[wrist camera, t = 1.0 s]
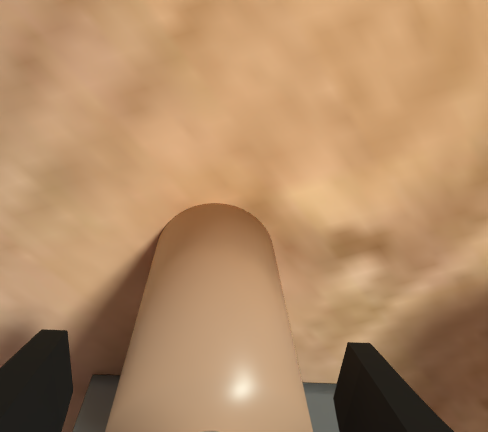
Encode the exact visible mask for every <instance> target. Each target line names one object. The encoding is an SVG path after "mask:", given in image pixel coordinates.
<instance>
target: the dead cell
mask: <svg viewBox="0 0 488 432" xmlns="http://www.w3.org/2000/svg"><path fill="white" fill-rule="evenodd" d="M105 432H313V429H312V424H311V420H310V415H309V410H308V406H307V401H306V397H305V392H304V387H303V383H302V378H301V374H300V369H299V364H298V360H297V355H296V350H295V346H294V341H293V337H292V332H291V327H290V323H289V318H288V314H287V309H286V304H285V300H284V295H283V291H282V286H281V281H280V277H279V272H278V268H277V263H276V258H275V254H274V249H273V245H272V241H271V238H270V236H269V233H268V232H267V230H266V228H265V227H264V226H263V225H262V223H261V222H260V221H259V220H258V219H257V218H256V217H254V216H253V215H251V214H250V213H248V212H247V211H245V210H243V209H240V208H238V207H235V206H231V205H227V204H220V203H211V204H202V205H198V206H194V207H192V208H189V209H187V210H185V211H183V212H181V213H180V214H178V215H177V216H175V217H174V218H173V219H172V220H171V221H170V222H169V223H168V224H167V225H166V226H165V228H164V229H163V231H162V233H161V235H160V237H159V240H158V243H157V246H156V250H155V254H154V257H153V261H152V264H151V268H150V272H149V275H148V279H147V282H146V286H145V290H144V293H143V297H142V300H141V304H140V308H139V311H138V315H137V318H136V322H135V326H134V329H133V333H132V336H131V340H130V344H129V347H128V351H127V354H126V358H125V362H124V365H123V369H122V372H121V376H120V380H119V383H118V387H117V390H116V394H115V398H114V401H113V405H112V408H111V412H110V416H109V419H108V423H107V426H106V430H105Z"/></svg>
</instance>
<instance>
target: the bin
mask: <svg viewBox="0 0 488 432" xmlns="http://www.w3.org/2000/svg"><path fill="white" fill-rule="evenodd" d="M119 380H120V376H111V375H93V376H92V378H91V381H90V384H89V387H88V390H87V392H86V395H85V398H84V401H83V404H82V406H81V409H80V412H79V415H78V418H77V421H76V423H75V426H74V429H73V432H105V430H106V426H107V423H108V419H109V416H110V412H111V408H112V405H113V401H114V398H115V394H116V390H117V387H118V383H119ZM336 385H337V384H325V383H303V387H304V392H305V397H306V401H307V406H308V410H309V415H310V420H311V424H312V429H313V432H339V427H338V422H337V417H336V411H335V406H334V400H333V397H334V393H335V389H336Z"/></svg>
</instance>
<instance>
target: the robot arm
mask: <svg viewBox="0 0 488 432" xmlns="http://www.w3.org/2000/svg"><path fill="white" fill-rule="evenodd" d="M72 393H73V384H72V373H71V363H70V353H69V343H68V332H67V331H66V330H41V331H40V332H38V333H37V334H36V335H35V336H34V337H33V338H32V339H31V340H30V341H29V342H28V343H27V344H26V345H24V346H23V347H22V348H21V349H20V350H19V351H18V352H17V353H16V354H15V355H14V356H13V357H12V358H11V359H10V360H8V361H7V362H6V363H5V364H4V365H3V366H2V367H1V368H0V432H61V431H62V427H63V424H64V421H65V417H66V414H67V411H68V407H69V404H70V400H71V396H72ZM333 400H334V406H335V411H336V417H337V422H338V427H339V432H454V431H453V430H452V429H451V428H450V427H449V426H447V425H446V424H445V423H444V422H443V421H442V420H441V419H440V418H439V417H438V416H437V415H436V414H435V413H434V412H433V411H432V410H431V409H430V407H429V406H428V405H427V404H426V403H425V402H424V401H423V400H422V399H421V398H420V397H419V396H418V395H417V394H416V393H415V392H414V391H413V390H412V389H411V387H410V386H409V385H408V384H407V383H406V382H405V381H404V380H403V379H402V378H401V377H400V375H399V374H398V373H397V372H396V371H395V370H394V369H393V368H392V367H391V366H390V364H389V363H388V362H387V361H386V360H385V359H384V358H383V357H382V356H381V354H380V353H379V352H378V351H377V350H376V349H375V348H374V347H373V346H372V345H371V344H370V343H351V342H348V343H347V347H346V351H345V355H344V359H343V363H342V366H341V370H340V374H339V378H338V382H337V385H336V389H335V393H334V397H333Z"/></svg>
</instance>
